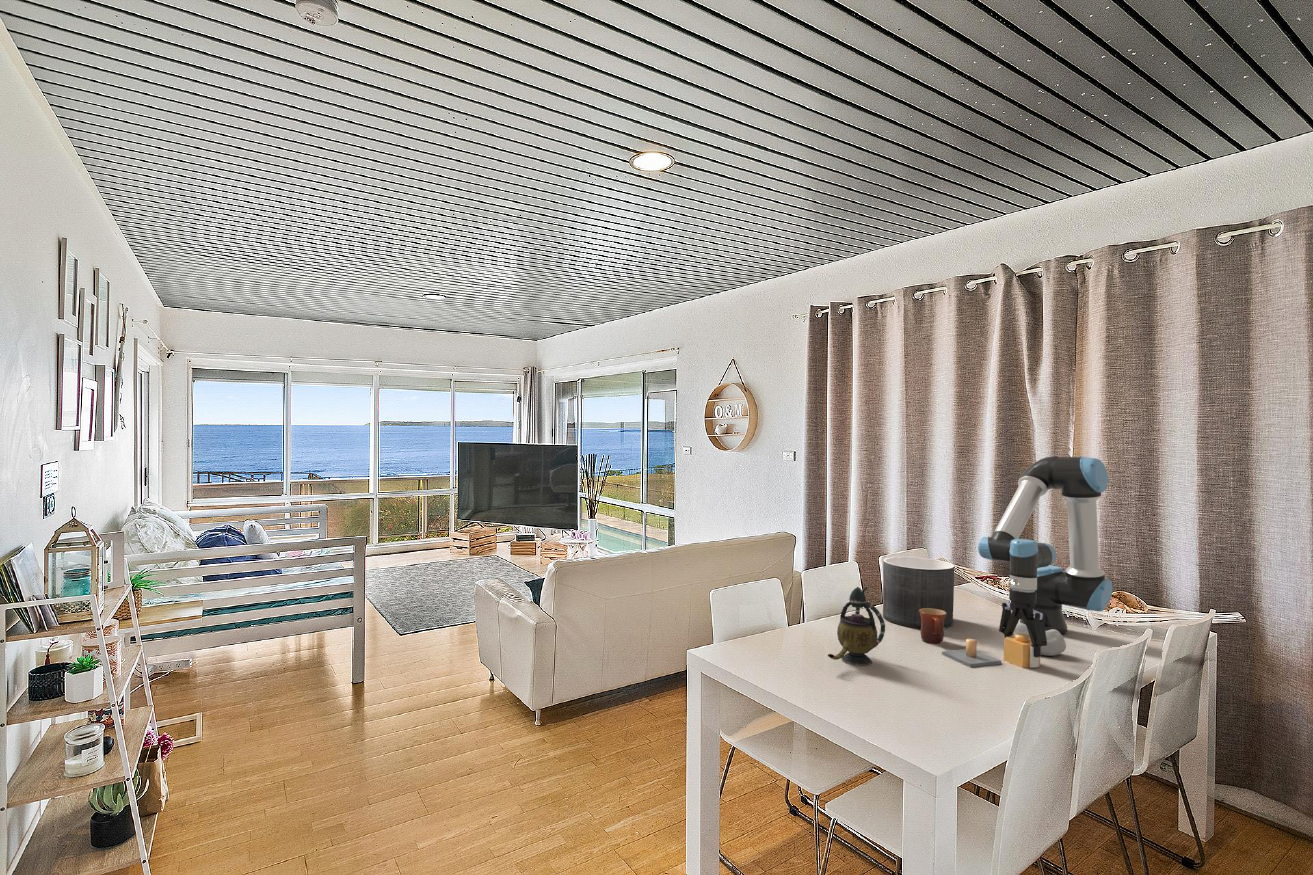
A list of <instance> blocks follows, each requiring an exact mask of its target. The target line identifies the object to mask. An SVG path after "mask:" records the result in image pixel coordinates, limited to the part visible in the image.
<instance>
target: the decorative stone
mask: <svg viewBox="0 0 1313 875" xmlns="http://www.w3.org/2000/svg"><path fill="white" fill-rule="evenodd" d="M1045 632H1046V639H1047V646H1041V652H1040V653H1041V656H1046V657H1053V656H1057V655H1060V654H1062V653H1064V652H1065V650H1066V649H1067V643H1066V641H1065V638H1064V636H1063V634H1062V635H1061V634H1060V632H1059V631H1057V630H1055V629H1051V630H1048V631H1045ZM1015 634H1026V635H1029V633H1028V630H1027V626H1026V625H1025V624H1023V623H1020V622H1018V624H1017V626H1016V628H1015V630H1014V632H1013V634H1012V636H1014V637H1015ZM1030 640H1031V639H1030ZM1036 642H1037V641H1036Z"/></svg>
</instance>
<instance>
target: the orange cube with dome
mask: <svg viewBox="0 0 1313 875" xmlns="http://www.w3.org/2000/svg"><path fill="white" fill-rule="evenodd" d="M1031 645H1032V642H1031V640H1030V636H1029V635H1026V634H1015V637H1010V638H1005V637H1003V661H1004V662H1008V663H1010V664H1012V665H1015V666H1017V667H1020V668H1023V669H1024V668H1025V669H1026V668H1031V667H1030V646H1031ZM1040 666H1041V656H1040V657H1039V667H1040Z"/></svg>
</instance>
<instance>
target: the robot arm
mask: <svg viewBox="0 0 1313 875" xmlns="http://www.w3.org/2000/svg"><path fill="white" fill-rule="evenodd" d="M1108 483H1109V475H1108V471H1107V468H1106V466H1105V464H1104V463H1103V462H1102V460H1100V459H1099V458H1096V457H1087V456H1055V455H1051V456H1046V457H1043V458H1040V459H1039V460H1036V461H1035V462H1034V463H1032V464H1031V465H1030V466H1028V467H1027V468H1026V469H1025V470H1024V471H1023V473H1022V474H1021V475H1020V477H1019V479H1018V481H1017V486H1018V487H1017V489H1016V491H1015V493H1014V495H1012V498H1011V500H1010V502H1009V504H1008V505H1007V507H1006V509H1005V511H1004V513H1003V515H1002V516H1001V518H1000V520H999V522H998V524H997V525H996V528H995V529H994V532H992V535H991V536H982V538H980V539H979V540H978V543H977V551H978V554H979V556H980V557H981V558H983V559H986V560H991V561H998V562H1003V563H1009V587H1010V589H1008V590H1009V593H1008V600H1009V601H1010V602H1002V604H1001V608H1002V610H1001V616H1000V622H999V627H998V631H999V633H1001V634H1003V636H1004V638H1010V637H1014V636H1012V634H1013V632H1014V630H1015V628H1016V626H1017V624H1018V623H1023V624H1025V625H1026V626H1027V630H1028V633H1029V636H1030V639H1031V642H1032V645H1031V646H1030V667H1029V668H1032V669H1033V668H1039V667H1040V666H1039V657H1040V658H1041V656H1042V655H1041V653H1040V652H1041V646H1047V639H1046V632H1045V631H1048V630H1051V629H1055V630H1057V631H1059V632H1060V634H1061V635H1062V636H1063V635H1066V634H1067V633H1068V624H1066V620H1065V615H1064V613H1063V606H1068V607H1072V608H1077V609H1082V610H1086V611H1091V612H1092V611H1093V612H1102V611H1105V609H1107V607H1108V606H1109V604H1110V602H1111V599H1112V595H1113V591H1114V590H1113V583H1112V580H1111V579H1109V578H1106V576H1105V575H1106V573H1105V571H1104V570H1103V569H1101V568H1100V557H1099V556H1100V554H1099V533H1098V531H1099V530H1098V511H1097V510H1098V508H1097V500H1099V499H1100V498H1101V497H1102V493H1104V492H1106V490H1107V488H1108V486H1109V485H1108ZM1051 489H1054V490H1061V497H1063V498H1064V499H1066V507H1067V528H1068V530H1067V531H1068V548H1069V549H1068V550H1069V566H1068V567H1067V568H1065V572H1064V569H1063V567H1061V566H1054V565H1053V566H1052V564H1054V563H1055V561H1056V560H1057V552H1056V549H1055V547H1054V546H1052V545H1051V544H1049V543H1046V542H1037V541H1035V540H1033V539H1026V538H1020V536H1021V535H1022V533H1023V530H1024V529H1025V527H1026V525H1027V523H1028V521H1029V519H1030V517H1031V515H1032V514H1033V512H1034V510H1035V508H1036V506H1037V504H1038V502H1039V500H1040V498H1041V497H1042V496H1044V495H1046V494H1047V492H1048V490H1051ZM1036 641H1037V642H1036Z"/></svg>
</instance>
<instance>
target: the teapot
mask: <svg viewBox="0 0 1313 875" xmlns="http://www.w3.org/2000/svg"><path fill="white" fill-rule="evenodd" d="M867 590H868V587H864V588H863V589H861V588H860V587H859V586H856V587H855V588H854V589H853V590H852V591H851V593H850V594H849V598H848V601H849V602H846V603H845V605H844V606H843V607H842V610H841V612H840V619H839V623H838V626H837V632H836V634H837V640H838V642H839V644H840V645H841V647H842V648H841V650H840V652H838V653H837V654H833V653H828V654H827V657H828V658H830V659H832V660H836V661H838V660H840V659H841V661H842V662H843V663H845V664H848V665H850V666H856V667H868V666H872V664H873V660H872V659H871V658H870V657H869V656H868V655H866V654H868V653H869V652H870V651H872V650H873V649H875V648H877V647H878V645H879V644H881V643H882V641H883V639H884V637H885V632H886V623H885V620H884V617H883V615H882V613H880V611H879V609H878V608H877V607H876V606H875V605H873V604H872V603H871V602H868V601H867V598H866V595H865V591H867ZM850 606H851V607H852V608H855V610H854V611H855V613H853V614H851V615H846V614H847V610H848V608H849V607H850ZM862 608H864V609H865V611H866V612H867V615H868V617H865V616H864V614H860V612H861V609H862ZM873 613H874V614H873ZM874 615H875V616H876V618H877V619H878V621H879V625H880V631H879V634H878V629H877V626H876V622H875V621H876V620H875V617H874Z"/></svg>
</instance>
